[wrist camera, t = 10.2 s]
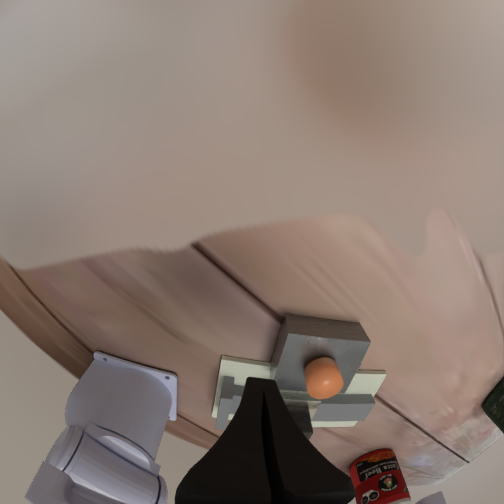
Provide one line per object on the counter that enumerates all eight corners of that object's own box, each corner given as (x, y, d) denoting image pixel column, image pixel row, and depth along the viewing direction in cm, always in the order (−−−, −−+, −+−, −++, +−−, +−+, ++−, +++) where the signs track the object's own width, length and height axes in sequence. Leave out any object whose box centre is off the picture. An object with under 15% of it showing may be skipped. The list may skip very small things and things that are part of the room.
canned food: (399, 442, 30) (420, 495, 19) (385, 465, 32) (400, 512, 22) (354, 454, 30) (369, 512, 20) (344, 474, 33) (355, 525, 22)
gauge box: (269, 366, 24) (270, 388, 22) (284, 313, 23) (288, 333, 20) (340, 372, 25) (347, 393, 22) (362, 323, 23) (373, 342, 20)
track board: (212, 413, 27) (208, 437, 23) (222, 355, 24) (217, 381, 21) (352, 422, 27) (359, 444, 24) (385, 370, 25) (396, 392, 21)
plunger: (299, 381, 21) (302, 398, 19) (309, 355, 20) (314, 372, 18) (330, 383, 21) (335, 399, 19) (342, 358, 20) (348, 374, 18)
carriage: (254, 417, 26) (254, 458, 20) (266, 380, 24) (268, 425, 19) (299, 420, 26) (304, 460, 21) (317, 384, 24) (327, 427, 19)
